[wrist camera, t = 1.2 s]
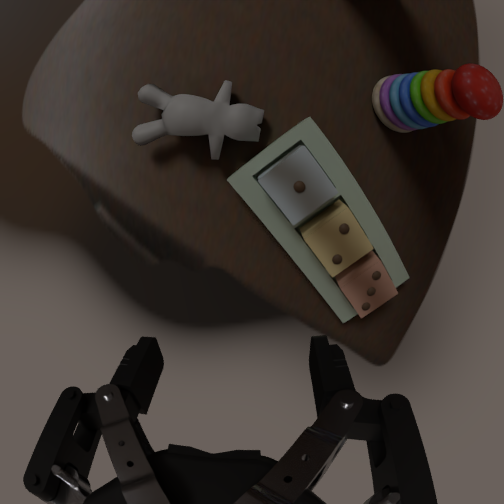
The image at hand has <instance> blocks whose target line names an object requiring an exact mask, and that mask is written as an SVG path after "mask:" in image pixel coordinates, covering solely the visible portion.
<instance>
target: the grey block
mask: <svg viewBox="0 0 504 504" xmlns="http://www.w3.org/2000/svg"><path fill="white" fill-rule="evenodd" d="M258 182H259V183H260V185H261V186H262V187H263V188H264V189H265V191H266V192H267V193H268V194H269V196H270V197H271V198H272V199H273V201H274V202H275V203H276V204H277V206H278V207H279V208H280V209H281V211H282V212H283V213H284V214H285V216H286V217H287V218H288V220H289V221H290V222H291V223H292V225H293V226H294V225H295V224H296V223H298V222H299V221H301V220H302V219H303V218H305V217H306V216H307V215H309V214H310V213H311V212H313V211H314V210H316V209H317V208H318V207H320V206H321V205H322V204H324V203H325V202H327V201H328V200H329V199H331V198H332V197H333V196H335V195H336V194H337V193H338V191H337V190H336V188H335V187H334V185H333V184H332V182H331V181H330V180H329V178H328V177H327V175H326V174H325V172H324V171H323V170H322V168H321V167H320V166H319V164H318V163H317V161H316V160H315V159H314V157H313V156H312V155H311V153H310V152H309V151H308V149H307V148H306V147H305V146H301V145H299V146H298V147H296V148H295V149H294V150H292V151H291V152H290V153H288V154H287V155H286V156H284V157H283V158H282V159H280V160H279V161H278V162H276V163H275V164H274V165H272V166H271V167H270V168H268V169H267V170H266V171H265V172H263V173H262V174H261V175H259V176H258Z"/></svg>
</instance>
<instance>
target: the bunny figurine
mask: <svg viewBox="0 0 504 504" xmlns="http://www.w3.org/2000/svg"><path fill="white" fill-rule="evenodd" d="M231 88H232V82H230V81H226V80H225V82H224V83H223V85H222V87H221V89H220V91H219V93H218V95H217V97H216V99H215V101H214V102H212V101H210V100H208V99H205V98H202V97H198V96H194V95H188V94H179V95H175V96H171V95H170V94H168V93H167V92H165V91H164V90H162V89H160V88H159V87H157V86H156V85H154V84H147V85H145V86H143V87H142V88H141V89H140V91H139V92H138V97H139V100H140V101H141V102H142V103H145V104H148V105H151V106H153V107H156V108H159V109H162V110H163V112H162V119H160V120H156V121H152V122H148V123H145V124H141V125H138V126H137V127H136V128H135V129H134V130H133V133H132V137H133V140H134V141H135V143H136V144H138V145H140V146H141V145H146V144H148V143H150V142H152V141H154V140H156V139H158V138H160V137H162V136H165V135H177V136H200V135H209V144H210V151H211V159H217V160H219V157H220V152H221V148H222V144H223V139H224V135H226V136H228V137H230V138H232V139H235V140H238V141H257V142H258V141H259V136H260V130H261V128H259V127H258V126H257V124H260V123H262V119H263V114H264V110H262V109H258V108H256V107H253V106H251V105H248V104H234V105H230V97H231ZM229 105H230V106H229Z"/></svg>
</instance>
